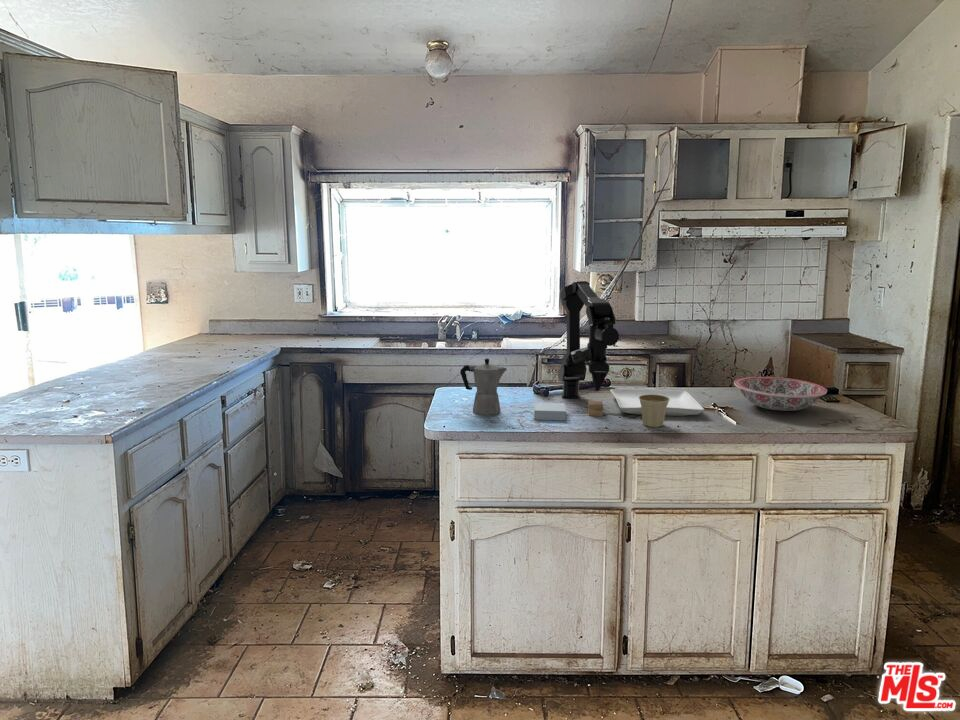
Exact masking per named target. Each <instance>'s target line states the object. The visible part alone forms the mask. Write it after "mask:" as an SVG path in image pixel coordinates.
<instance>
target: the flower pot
mask: <svg viewBox="0 0 960 720" xmlns="http://www.w3.org/2000/svg"><path fill="white" fill-rule="evenodd" d="M639 399H640V403H641V409H642V415H641V418H642V425H644V426H647V427H650V428H660V427H664V422H665V417H666V415H665V413H666V408H667V405H668V401H670V398H668V397H666V396H662V395H651V394H650V395H641V396H639Z"/></svg>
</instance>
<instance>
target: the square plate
mask: <svg viewBox="0 0 960 720" xmlns="http://www.w3.org/2000/svg"><path fill="white" fill-rule="evenodd" d="M609 391H610V393H611V394H612V395H613V396H614V397H615V400H616V402H617V405H618V407H619V408H620V409H621V410H622V411H623V412H624V413H627V414H632V415H640V416H642V409H641V403H640V399H639V396H641V395H650V394H651V395H662V396H666V397H668V398H670V401H668V405H667V408H666V413H665V416H670V417H671V416H676V417H677V416H679V417H681V416H683V417H685V416H695V415H700V413H702V412H704V411H705V408H704V407H703V406H702V405H701V404H700V403H699V402H698V401H697V400H696V399H695V398H694V397H693V396H692V395H691V394H689V392H688V391H685V390H672V389H670V390H669V389H653V388H650V389H648V388H612V389H610V390H609Z"/></svg>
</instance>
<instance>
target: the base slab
mask: <svg viewBox="0 0 960 720" xmlns="http://www.w3.org/2000/svg"><path fill="white" fill-rule="evenodd" d="M566 409H567V408H566V403H563V402H560V403H559V402H558V403H557V402H534V411H533V413H534V415H533V416H534V417H533V420H536V421H537V420H539V421H542V420H544V421H545V420H546V421H567V419H566V417H567V410H566Z"/></svg>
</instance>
